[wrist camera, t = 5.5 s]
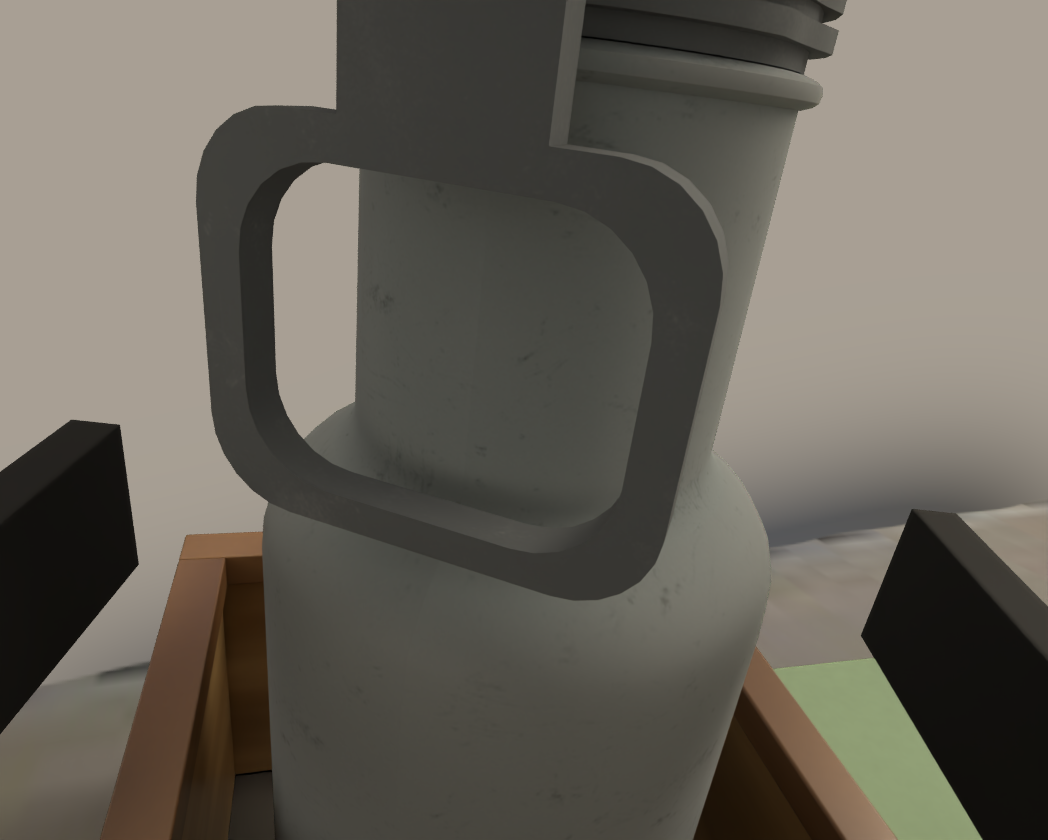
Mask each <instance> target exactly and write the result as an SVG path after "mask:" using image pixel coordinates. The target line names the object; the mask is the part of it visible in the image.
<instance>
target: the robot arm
mask: <svg viewBox="0 0 1048 840" xmlns="http://www.w3.org/2000/svg"><path fill="white" fill-rule="evenodd" d="M138 565H139V563H138V556H137V548H136V541H135V533H134V526H133V519H132V512H131V504H130V496H129V489H128V482H127V474H126V467H125V460H124V452H123V445H122V437H121V430H120V425H117V424H107V423H98V422H88V421H79V420H70V421H69V422H68V423H66V424H65V425H64V426H62V427H61V428H59V429H58V430H57V431H55V432H54V433H53V434H51V435H50V436H48V437H47V438H46V439H44V440H43V441H42V442H40V443H39V444H38V445H36V446H35V447H33V448H32V449H31V450H29V451H28V452H27V453H25V454H24V455H22V456H21V457H20V458H18V459H17V460H16V461H14V462H13V463H12V464H10V465H9V466H8V467H6V468H5V469H3V470H2V471H1V472H0V734H1V733H2V731H3V730H4V729H5V728H6V726H7V725H8V724H9V723H10V722H11V720H12V719H13V718H14V717H15V715H16V714H17V713H18V712H19V711H20V709H21V708H22V707H23V706H24V704H25V703H26V702H27V701H28V700H29V698H30V697H31V696H32V695H33V693H34V692H35V691H36V690H37V688H38V687H39V686H40V685H41V684H42V682H43V681H44V680H45V679H46V677H47V676H48V675H49V674H50V673H51V671H52V670H53V669H54V668H55V666H56V665H57V664H58V663H59V661H60V660H61V659H62V658H63V657H64V655H65V654H66V653H67V652H68V650H69V649H70V648H71V647H72V646H73V644H74V643H75V642H76V641H77V639H78V638H79V637H80V636H81V634H82V633H83V632H84V631H85V630H86V628H87V627H88V626H89V625H90V623H91V622H92V621H93V620H94V619H95V617H96V616H97V615H98V614H99V612H100V611H101V610H102V609H103V608H104V606H105V605H106V604H107V603H108V601H109V600H110V599H111V598H112V597H113V595H114V594H115V593H116V591H117V590H118V589H119V588H120V587H121V585H122V584H123V583H124V582H125V580H126V579H127V578H128V577H129V576H130V574H131V573H132V572H133V571H134V569H135V568H136V567H137V566H138ZM861 637H862V638H863V640H864V642H865V643H866V645H867V647H868V648H869V650H870V652H871V653H872V655H873V657H874V658H875V660H876V662H877V664H878V665H879V667H880V669H881V670H882V672H883V674H884V675H885V677H886V679H887V680H888V682H889V684H890V685H891V687H892V689H893V690H894V692H895V694H896V695H897V697H898V699H899V700H900V702H901V704H902V706H903V707H904V709H905V711H906V712H907V714H908V716H909V717H910V719H911V721H912V722H913V724H914V726H915V727H916V729H917V731H918V732H919V734H920V736H921V737H922V739H923V741H924V742H925V744H926V746H927V747H928V749H929V751H930V753H931V754H932V756H933V758H934V759H935V761H936V763H937V764H938V766H939V768H940V769H941V771H942V773H943V774H944V776H945V778H946V779H947V781H948V783H949V784H950V786H951V788H952V789H953V791H954V793H955V795H956V796H957V798H958V800H959V801H960V803H961V805H962V806H963V808H964V810H965V811H966V813H967V815H968V816H969V818H970V820H971V821H972V823H973V825H974V826H975V828H976V830H977V831H978V833H979V835H980V837H981V838H982V840H1048V606H1047V605H1046V604H1045V603H1044V602H1043V601H1042V600H1041V599H1040V598H1039V597H1038V596H1037V595H1036V594H1035V593H1034V592H1033V591H1032V590H1031V589H1030V588H1029V587H1028V586H1027V585H1026V584H1025V583H1024V582H1023V581H1022V580H1021V579H1020V578H1019V577H1018V576H1017V575H1016V574H1015V573H1014V572H1013V571H1012V570H1011V569H1010V568H1009V567H1008V566H1007V565H1006V564H1005V563H1004V562H1003V561H1002V560H1001V559H1000V558H999V557H998V556H997V555H996V554H995V553H994V552H993V551H992V550H991V549H990V548H989V547H988V546H987V545H986V543H985V542H984V541H983V540H982V539H981V538H980V537H979V536H978V535H977V534H976V533H975V532H974V531H973V530H972V529H971V528H970V527H969V526H968V525H967V524H966V523H965V522H964V521H963V520H962V519H961V518H960V517H959V516H958V515H957V514H955V513H945V512H936V511H926V510H917V509H912V510H911V513H910V515H909V518H908V520H907V523H906V525H905V527H904V530H903V532H902V535H901V537H900V540H899V542H898V545H897V547H896V550H895V552H894V555H893V557H892V560H891V562H890V565H889V567H888V570H887V572H886V575H885V577H884V580H883V582H882V585H881V587H880V590H879V592H878V594H877V597H876V599H875V602H874V604H873V607H872V609H871V612H870V614H869V617H868V619H867V622H866V624H865V627H864V629H863V632H862V634H861Z"/></svg>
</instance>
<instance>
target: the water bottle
mask: <svg viewBox="0 0 1048 840" xmlns="http://www.w3.org/2000/svg"><path fill="white" fill-rule="evenodd" d="M846 1H847V0H337V90H336V91H337V92H336V96H337V97H336V103H337V104H336V110H334V109H327V108H321V107H314V106H254V107H251V108H248V109H246V110H243V111H241V112H238V113H236V114H233V115H232V116H231V117H230V118H229V119H228V120H226V121H225V122H224V123H223V124H222V125H221V126H220V127H219V128H218V129H216V131H215V132H214V134H213V136H212V137H211V139H210V141H209V143H208V145H207V146H206V148H205V149H204V151H203V155H202V159H201V163H200V166H199V170H198V174H197V191H196V193H197V194H196V207H197V221H198V234H199V247H200V261H201V275H202V288H203V302H204V315H205V328H206V342H207V356H208V369H209V382H210V396H211V409H212V416H213V421H214V427H215V432H216V435H217V437H218V440H219V443H220V445H221V447H222V450H223V452H224V454H225V456H226V458H227V459H228V461H229V462H230V464H231V465H232V467H233V468H234V470H235V471H236V473H237V474H238V475H239V476H240V477H241V478H242V479H243V481H244V482H245V483H246V484H247V485H248V486H249V487H250V488H251V489H252V490H253V491H254V492H256V493H257V494H258V495H260V496H261V497H263V498H264V499H265V500H267V501H268V506H267V509H266V512H265V516H264V525H263V538H262V559H263V580H264V602H265V624H266V646H267V668H268V690H269V712H270V734H271V756H272V778H273V800H274V822H275V840H693V837H694V834H695V831H696V828H697V825H698V822H699V819H700V816H701V813H702V810H703V807H704V803H705V800H706V797H707V794H708V791H709V788H710V785H711V782H712V779H713V776H714V773H715V770H716V767H717V763H718V760H719V757H720V754H721V751H722V748H723V745H724V742H725V739H726V736H727V733H728V730H729V727H730V723H731V720H732V717H733V714H734V711H735V708H736V705H737V702H738V699H739V696H740V693H741V690H742V687H743V684H744V680H745V677H746V674H747V671H748V668H749V665H750V662H751V659H752V656H753V653H754V650H755V647H756V644H757V640H758V637H759V633H760V629H761V625H762V621H763V617H764V614H765V610H766V605H767V600H768V595H769V590H770V585H771V564H770V554H769V545H768V537H767V535H766V532H765V529H764V526H763V523H762V521H761V518H760V516H759V514H758V512H757V510H756V508H755V505H754V503H753V501H752V499H751V497H750V495H749V493H748V492H747V490H746V489H745V487H744V485H743V483H742V482H741V480H740V479H739V478H738V476H737V475H736V474H735V473H734V472H733V470H732V469H731V468H730V467H729V465H728V464H727V463H726V462H725V461H724V460H723V459H722V458H721V457H720V456H719V455H718V454H717V453H716V452H714V451H713V450H712V447H713V444H714V440H715V436H716V432H717V427H718V424H719V420H720V416H721V412H722V408H723V405H724V401H725V397H726V393H727V389H728V385H729V381H730V377H731V373H732V369H733V365H734V361H735V357H736V353H737V349H738V345H739V342H740V338H741V334H742V330H743V326H744V322H745V318H746V314H747V310H748V306H749V302H750V298H751V294H752V290H753V286H754V283H755V279H756V275H757V270H758V266H759V263H760V259H761V255H762V251H763V247H764V243H765V239H766V235H767V231H768V227H769V224H770V220H771V216H772V212H773V208H774V204H775V200H776V196H777V192H778V188H779V184H780V180H781V176H782V172H783V168H784V165H785V161H786V157H787V153H788V149H789V145H790V140H791V137H792V133H793V129H794V125H795V121H796V117H797V113H798V111H801V110H805V109H810V108H813V107H815V106H816V105H818V104H819V103H820V100H821V98H822V95H823V88H822V87H821V86H820V84H819V83H818V82H816V81H814V80H813V79H811V78H809V77H807V76H805V75H804V71H805V68H806V64H807V60H808V59H820V58H826V57H829V56H831V55H832V54H833V50H834V46H835V43H836V39H837V35H838V30H836V29H834V28H832V27H829V26H827V25H825V24H822V23H825V22H829V21H833V20H836V19H837V18H839V17H840V16H841V15H843V12H844V9H845V4H846ZM321 163H331V164H336V165H343V166H348V167H354V168H360V174H359V178H360V179H359V230H358V232H359V233H358V283H357V284H358V285H357V287H358V288H357V338H356V393H355V397H356V398H355V402H354V403H352V404H350V405H348V406H346V407H344V408H342V409H340V410H338V411H336V412H335V413H334V414H332V415H331V416H330V417H329V418H327V419H326V420H325V421H323V422H322V423H321V424H320V425H319V426H317V427H316V428H315V429H314V430H313V431H312V432H311V433H310V434H309V435H308V436H307V437H306V438H305V439H303V438H302V437H301V436H300V435H299V434H298V432H297V431H296V429H295V428H294V426H293V424H292V422H291V421H290V419H289V418H288V416H287V414H286V411H285V409H284V406H283V403H282V401H281V398H280V395H279V390H278V384H277V377H276V361H275V329H274V299H273V298H274V297H273V268H272V237H273V225H274V219H275V216H276V213H277V210H278V207H279V204H280V201H281V199H282V197H283V196H284V194H285V193H286V191H287V190H288V188H289V187H290V186H291V184H292V183H293V181H294V180H295V179H296V178H298V177H299V176H300V175H301V174H303V173H304V172H305V171H306V170H308V169H309V168H311V167H312V166H315V165H318V164H321Z"/></svg>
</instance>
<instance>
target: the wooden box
mask: <svg viewBox="0 0 1048 840" xmlns="http://www.w3.org/2000/svg"><path fill="white" fill-rule="evenodd" d="M262 538H263V532H244V533H219V534H195V535H186V537H185V541H184V544H183V548H182V551H181V555H180V558H179V562H178V565H177V569H176V572H175V576H174V579H173V583H172V587H171V590H170V594H169V597H168V601H167V604H166V608H165V611H164V615H163V618H162V623H161V625H160V629H159V633H158V636H157V639H156V643H155V647H154V650H153V654H152V657H151V661H150V664H149V668H148V671H147V675H146V678H145V682H144V685H143V689H142V692H141V696H140V699H139V703H138V707H137V710H136V714H135V717H134V721H133V724H132V728H131V731H130V735H129V738H128V742H127V745H126V749H125V752H124V756H123V759H122V763H121V767H120V770H119V774H118V777H117V781H116V784H115V788H114V791H113V795H112V798H111V802H110V805H109V809H108V812H107V816H106V820H105V823H104V827H103V830H102V834H101V837H100V840H228V832H229V824H230V816H231V807H232V799H233V791H234V782H235V774H243V773H251V772H259V771H267V770H272V756H271V734H270V712H269V690H268V668H267V646H266V624H265V602H264V580H263V559H262ZM693 840H898V839H897V837H896V836H895V835H894V833H893V832H892V831H891V829H890V828H889V827H888V825H887V824H886V822H885V821H884V820H883V818H882V817H881V816H880V814H879V813H878V812H877V810H876V809H875V807H874V806H873V805H872V803H871V802H870V801H869V799H868V798H867V797H866V795H865V794H864V793H863V791H862V790H861V788H860V787H859V786H858V784H857V783H856V782H855V780H854V779H853V778H852V776H851V775H850V773H849V772H848V771H847V769H846V768H845V767H844V765H843V764H842V763H841V761H840V760H839V759H838V757H837V756H836V754H835V753H834V752H833V750H832V749H831V748H830V746H829V745H828V744H827V742H826V741H825V739H824V738H823V737H822V735H821V734H820V733H819V731H818V730H817V729H816V727H815V726H814V725H813V723H812V722H811V720H810V719H809V718H808V716H807V715H806V714H805V712H804V711H803V710H802V708H801V707H800V705H799V704H798V703H797V701H796V700H795V699H794V697H793V696H792V695H791V693H790V692H789V691H788V689H787V688H786V686H785V685H784V684H783V682H782V681H781V680H780V678H779V677H778V676H777V674H776V673H775V671H774V670H773V669H772V667H771V666H770V665H769V663H768V662H767V661H766V659H765V658H764V657H763V655H762V654H761V652H760V651H759V650H758V648H757V647H755V650H754V653H753V656H752V659H751V662H750V665H749V668H748V671H747V674H746V677H745V680H744V684H743V687H742V690H741V693H740V696H739V699H738V702H737V705H736V708H735V711H734V714H733V717H732V720H731V723H730V727H729V730H728V733H727V736H726V739H725V742H724V745H723V748H722V751H721V754H720V757H719V760H718V763H717V767H716V770H715V773H714V776H713V779H712V782H711V785H710V788H709V791H708V794H707V797H706V800H705V803H704V807H703V810H702V813H701V816H700V819H699V822H698V825H697V828H696V831H695V834H694V837H693Z"/></svg>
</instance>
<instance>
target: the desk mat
mask: <svg viewBox="0 0 1048 840" xmlns="http://www.w3.org/2000/svg"><path fill="white" fill-rule="evenodd" d="M773 670H774V671H775V673H776V674H777V676H778V677H779V678H780V680H781V681H782V682H783V684H784V685H785V686H786V688H787V689H788V691H789V692H790V693H791V695H792V696H793V697H794V699H795V700H796V701H797V703H798V704H799V705H800V707H801V708H802V710H803V711H804V712H805V714H806V715H807V716H808V718H809V719H810V720H811V722H812V723H813V725H814V726H815V727H816V729H817V730H818V731H819V733H820V734H821V735H822V737H823V738H824V739H825V741H826V742H827V744H828V745H829V746H830V748H831V749H832V750H833V752H834V753H835V754H836V756H837V757H838V759H839V760H840V761H841V763H842V764H843V765H844V767H845V768H846V769H847V771H848V772H849V773H850V775H851V776H852V778H853V779H854V780H855V782H856V783H857V784H858V786H859V787H860V788H861V790H862V791H863V793H864V794H865V795H866V797H867V798H868V799H869V801H870V802H871V803H872V805H873V806H874V807H875V809H876V810H877V812H878V813H879V814H880V816H881V817H882V818H883V820H884V821H885V822H886V824H887V825H888V827H889V828H890V829H891V831H892V832H893V833H894V835H895V836H896V837H897V839H898V840H982V838H981V837H980V835H979V833H978V831H977V830H976V828H975V826H974V825H973V823H972V821H971V820H970V818H969V816H968V815H967V813H966V811H965V810H964V808H963V806H962V805H961V803H960V801H959V800H958V798H957V796H956V795H955V793H954V791H953V789H952V788H951V786H950V784H949V783H948V781H947V779H946V778H945V776H944V774H943V773H942V771H941V769H940V768H939V766H938V764H937V763H936V761H935V759H934V758H933V756H932V754H931V753H930V751H929V749H928V747H927V746H926V744H925V742H924V741H923V739H922V737H921V736H920V734H919V732H918V731H917V729H916V727H915V726H914V724H913V722H912V721H911V719H910V717H909V716H908V714H907V712H906V711H905V709H904V707H903V706H902V704H901V702H900V700H899V699H898V697H897V695H896V694H895V692H894V690H893V689H892V687H891V685H890V684H889V682H888V680H887V679H886V677H885V675H884V674H883V672H882V670H881V669H880V667H879V665H878V664H877V662H876V660H875V658H869V659H860V660H851V661H841V662H832V663H823V664H814V665H805V666H796V667H786V668H777V669H773Z"/></svg>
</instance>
